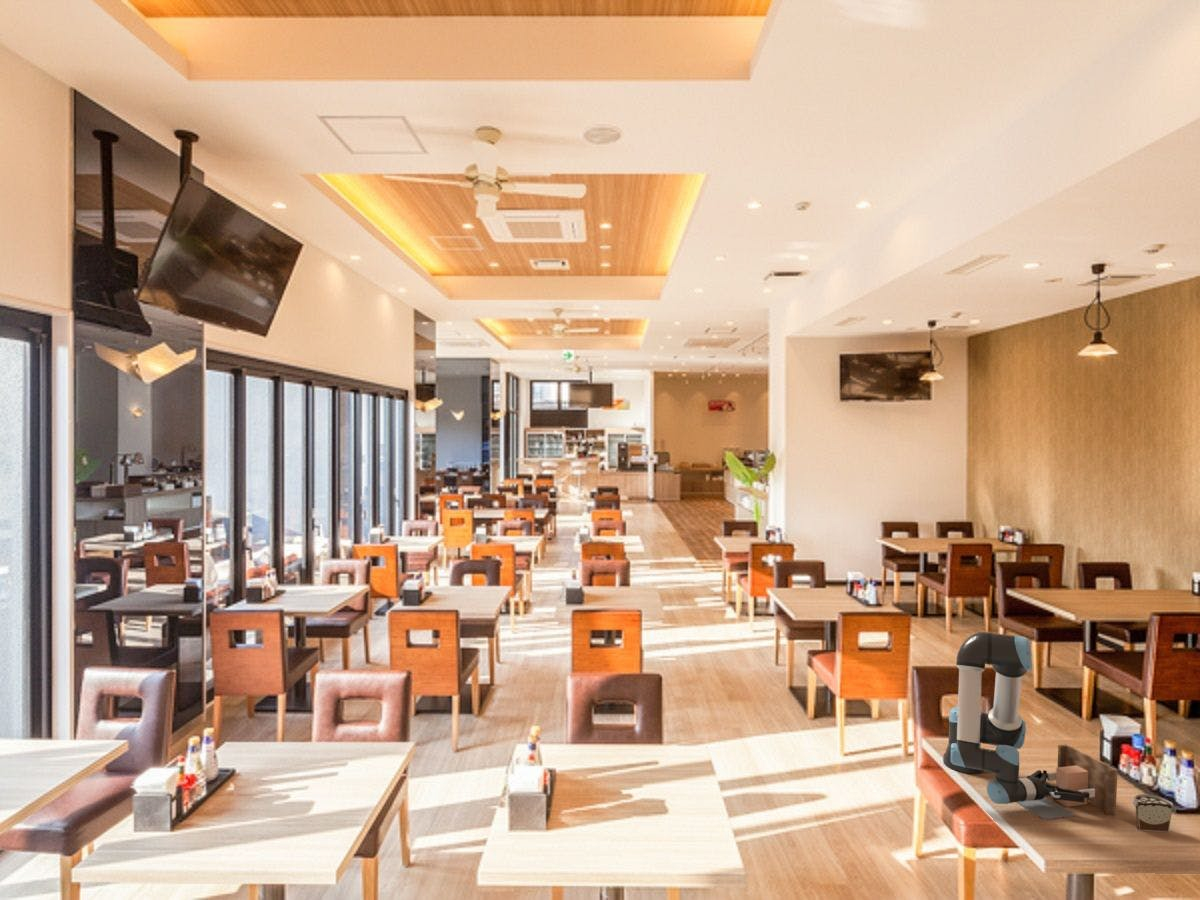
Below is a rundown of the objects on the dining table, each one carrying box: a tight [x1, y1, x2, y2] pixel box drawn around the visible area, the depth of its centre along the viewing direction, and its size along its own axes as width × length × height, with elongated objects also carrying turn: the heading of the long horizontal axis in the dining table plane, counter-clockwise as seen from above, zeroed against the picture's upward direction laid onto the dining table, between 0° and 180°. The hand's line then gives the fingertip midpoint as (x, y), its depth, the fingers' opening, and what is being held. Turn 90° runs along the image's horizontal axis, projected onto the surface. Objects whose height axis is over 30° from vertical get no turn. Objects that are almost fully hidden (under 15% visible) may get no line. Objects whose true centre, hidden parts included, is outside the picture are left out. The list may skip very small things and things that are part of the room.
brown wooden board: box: [1057, 743, 1119, 817], centre depth 281 cm, size 22×4×16 cm, turn 14°
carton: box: [1055, 765, 1088, 807], centre depth 280 cm, size 5×9×12 cm, turn 104°
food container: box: [1132, 793, 1175, 833], centre depth 263 cm, size 12×6×10 cm, turn 84°
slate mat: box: [1015, 796, 1076, 820], centre depth 277 cm, size 18×13×1 cm
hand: (1078, 783), depth 280 cm, fingers open, 13 cm apart
